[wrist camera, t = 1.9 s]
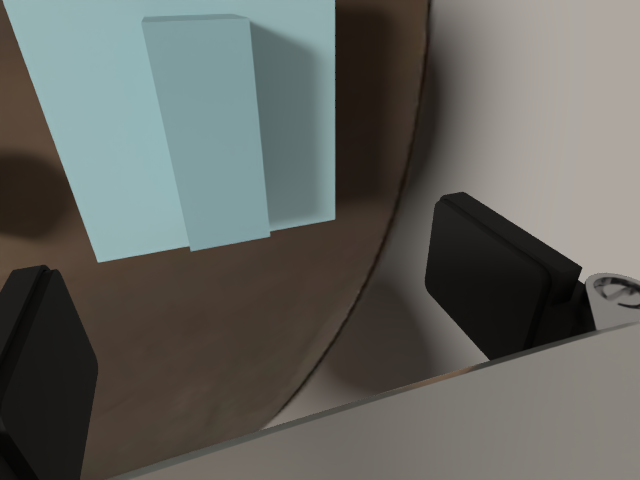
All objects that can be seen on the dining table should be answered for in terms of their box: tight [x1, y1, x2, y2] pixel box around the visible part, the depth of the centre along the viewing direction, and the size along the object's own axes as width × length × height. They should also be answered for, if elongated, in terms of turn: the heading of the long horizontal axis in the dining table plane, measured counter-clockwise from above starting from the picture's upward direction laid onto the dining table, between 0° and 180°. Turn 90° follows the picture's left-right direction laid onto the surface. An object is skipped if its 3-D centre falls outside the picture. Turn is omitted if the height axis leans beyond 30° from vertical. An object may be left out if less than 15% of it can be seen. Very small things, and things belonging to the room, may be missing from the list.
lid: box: [3, 0, 335, 262], centre depth 21 cm, size 15×15×7 cm
